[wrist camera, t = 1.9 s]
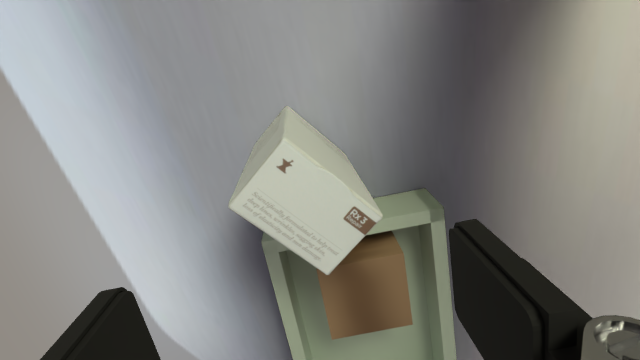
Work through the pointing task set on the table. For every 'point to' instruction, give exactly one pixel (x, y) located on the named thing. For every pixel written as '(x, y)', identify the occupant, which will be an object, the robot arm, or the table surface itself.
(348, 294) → the walnut block
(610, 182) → the table surface
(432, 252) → the tote
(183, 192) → the table surface
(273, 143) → the skincare box
